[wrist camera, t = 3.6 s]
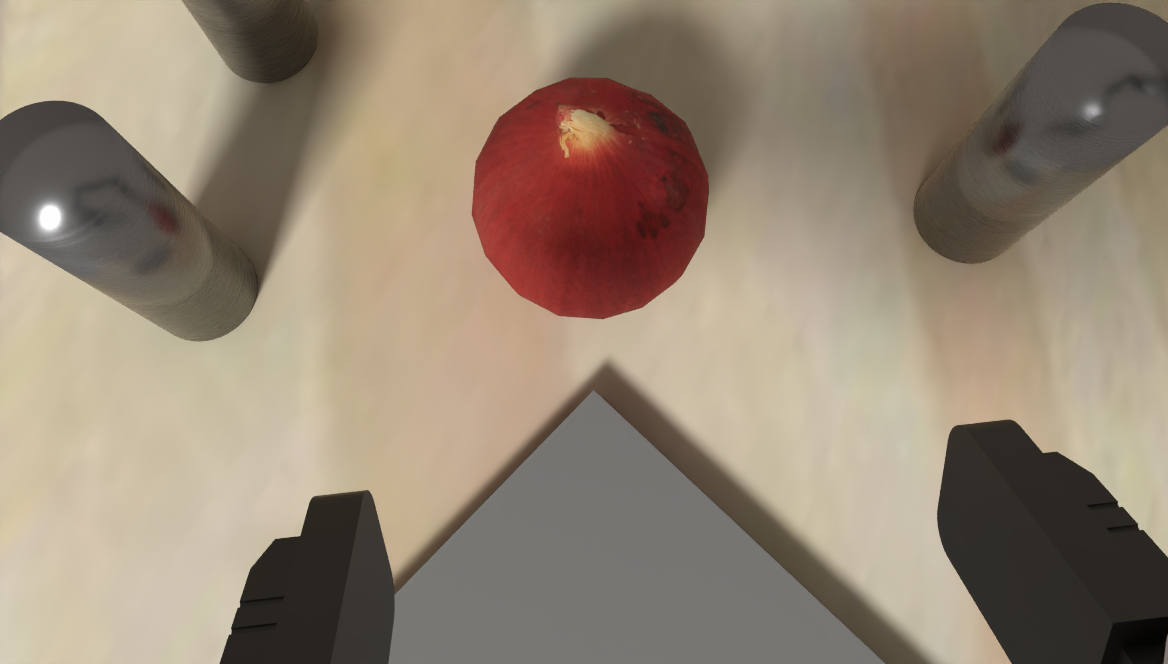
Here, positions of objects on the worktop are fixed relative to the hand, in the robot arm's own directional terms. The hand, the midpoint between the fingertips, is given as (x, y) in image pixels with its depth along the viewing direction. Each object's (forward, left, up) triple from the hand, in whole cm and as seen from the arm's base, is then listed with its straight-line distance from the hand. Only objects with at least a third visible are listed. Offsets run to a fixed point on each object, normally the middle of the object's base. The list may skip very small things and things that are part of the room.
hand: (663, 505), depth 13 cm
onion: (-5, -6, -12) cm, 15 cm away
